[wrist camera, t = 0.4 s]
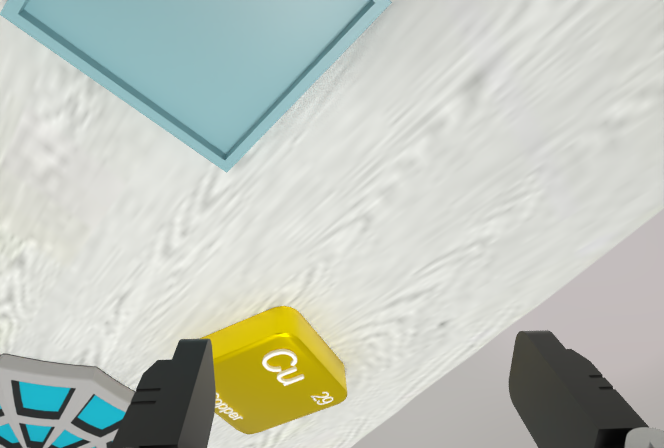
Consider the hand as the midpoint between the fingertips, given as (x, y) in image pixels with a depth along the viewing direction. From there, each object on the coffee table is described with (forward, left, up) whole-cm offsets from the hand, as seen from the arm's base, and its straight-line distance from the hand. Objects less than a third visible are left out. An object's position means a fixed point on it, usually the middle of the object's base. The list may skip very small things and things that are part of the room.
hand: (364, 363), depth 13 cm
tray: (-7, -4, -29) cm, 30 cm away
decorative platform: (+9, -60, -30) cm, 68 cm away
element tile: (+22, -32, -30) cm, 49 cm away
